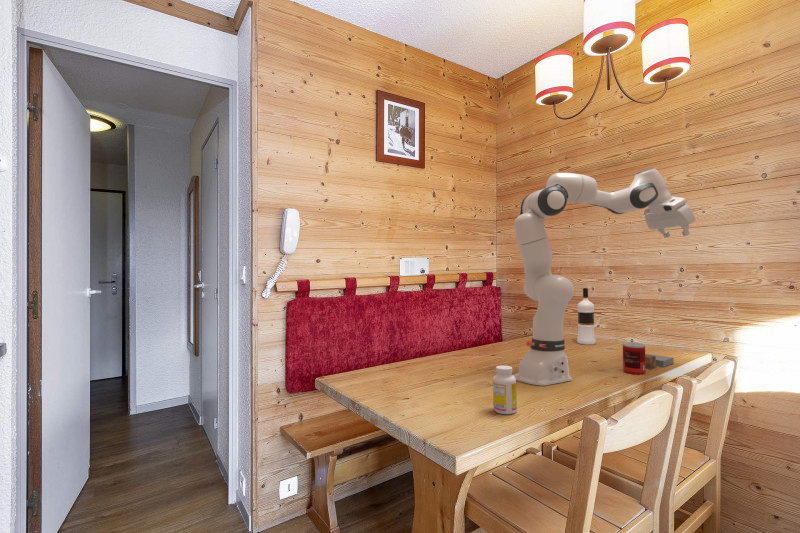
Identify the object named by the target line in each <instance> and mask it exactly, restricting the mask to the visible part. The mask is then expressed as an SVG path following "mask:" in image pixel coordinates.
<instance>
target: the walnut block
mask: <svg viewBox="0 0 800 533" xmlns="http://www.w3.org/2000/svg"><path fill="white" fill-rule="evenodd" d="M647 354H648V353H645V370H647V371H648V370H649V371H652V370H654V369H657V366H656V356H653V355H647Z"/></svg>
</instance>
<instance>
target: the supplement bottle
mask: <svg viewBox="0 0 800 533" xmlns="http://www.w3.org/2000/svg"><path fill="white" fill-rule="evenodd" d="M495 372H496V374H495V375H494V376H493V377H492V393H493V394H492V396H493V410H494V411H495V412H496V413H497V414H501V415H513V414H516V413H517V410H518V406H517V405H518V400H517V397H518V396H517V395H518V394H517V380H516V378H515V377H514V376H513V375H514V374H513V372H514V371H513V367H512V366H511V365H497V366H495Z"/></svg>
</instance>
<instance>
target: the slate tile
mask: <svg viewBox="0 0 800 533" xmlns="http://www.w3.org/2000/svg"><path fill="white" fill-rule="evenodd" d="M646 354H647V355H653V356H656V367H662V368H666V367H667V366H670V365H673V364H674V357H673V356H666V355H659V354H655V353H654V354H653V353H646Z"/></svg>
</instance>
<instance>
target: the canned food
mask: <svg viewBox="0 0 800 533" xmlns="http://www.w3.org/2000/svg"><path fill="white" fill-rule="evenodd" d="M645 354H646V345H645V344H643V343H639V342H623V343H622V369H623V372H624V373H626V374H630V375H635V374H636V375H639V376H640V374H642V375H645V373H646V370H647V369H645Z"/></svg>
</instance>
